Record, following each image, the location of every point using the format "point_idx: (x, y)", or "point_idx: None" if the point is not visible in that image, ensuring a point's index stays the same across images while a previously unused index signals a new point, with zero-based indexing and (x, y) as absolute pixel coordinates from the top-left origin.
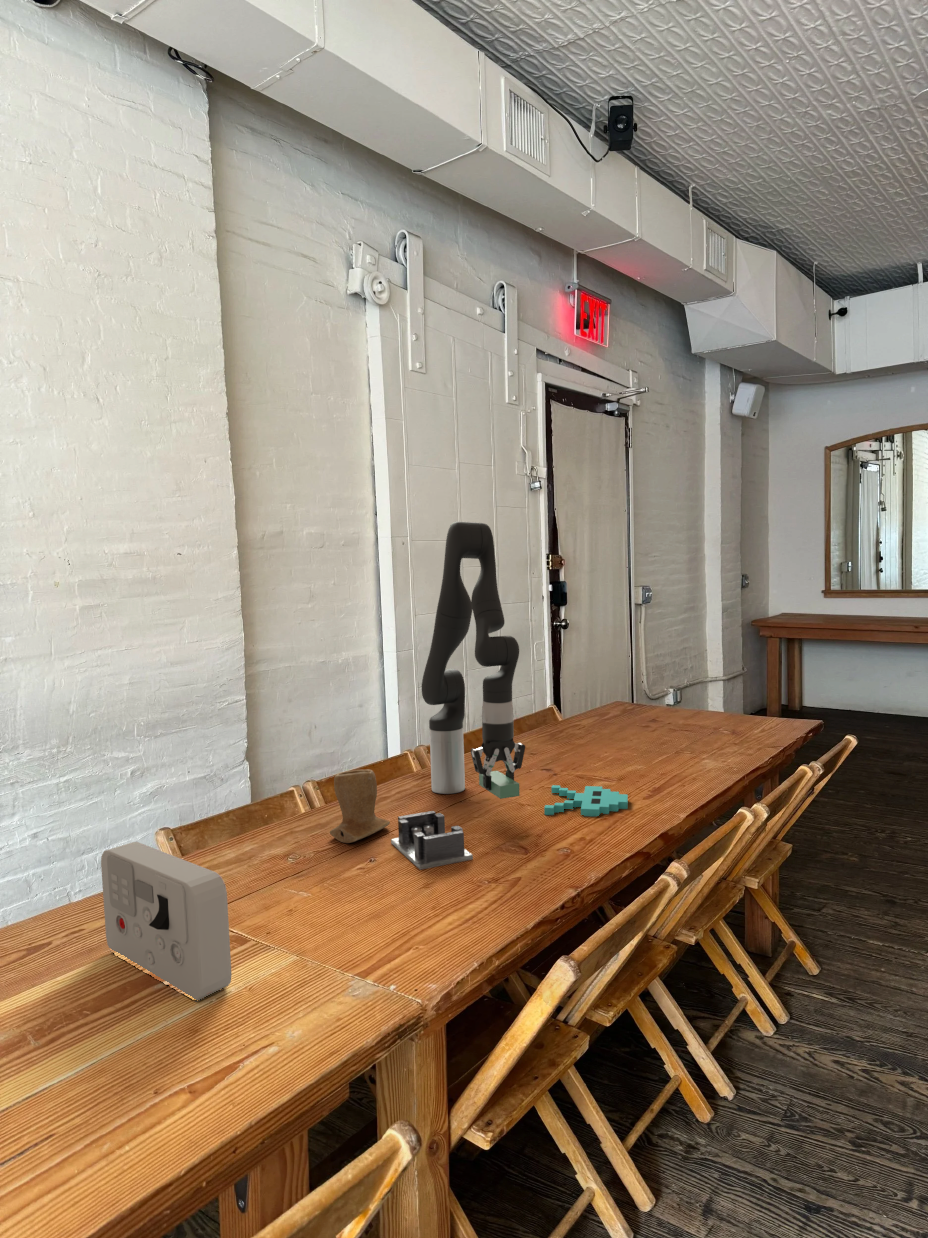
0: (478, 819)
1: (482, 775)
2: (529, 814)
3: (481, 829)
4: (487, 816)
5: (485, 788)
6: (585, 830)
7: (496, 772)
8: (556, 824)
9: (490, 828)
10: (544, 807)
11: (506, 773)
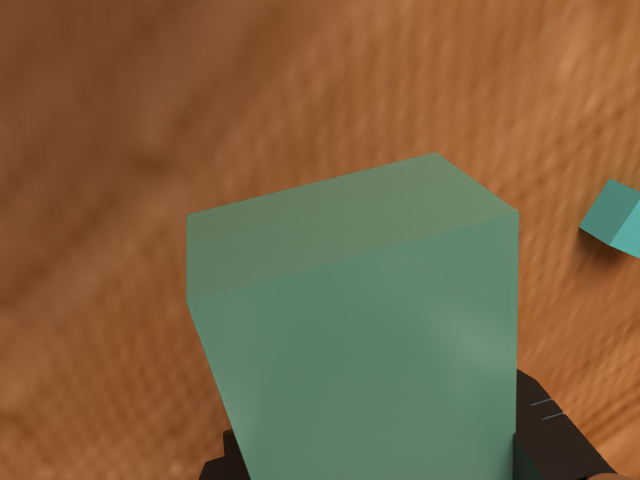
0: (163, 216)
1: (224, 401)
2: (510, 196)
3: (158, 391)
4: (240, 167)
5: (225, 433)
6: (610, 451)
7: (466, 306)
8: (551, 373)
9: (214, 383)
10: (613, 241)
11: (533, 476)
